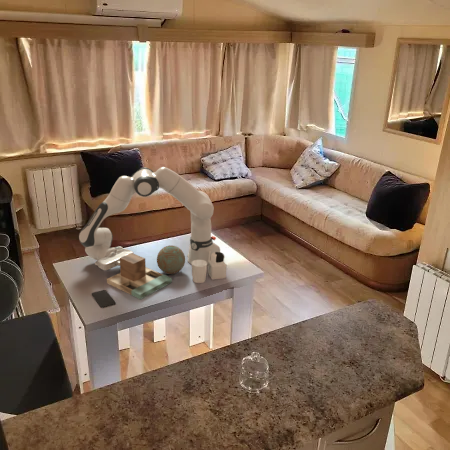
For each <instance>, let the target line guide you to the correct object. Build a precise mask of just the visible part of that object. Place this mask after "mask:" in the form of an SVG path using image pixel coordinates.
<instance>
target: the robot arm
mask: <svg viewBox="0 0 450 450" xmlns="http://www.w3.org/2000/svg"><path fill="white" fill-rule="evenodd" d="M159 189H162V190H163V191H165V192H166V193H167V194H169V195H170V196H172V197H173V198H174V199H176V200H177V201H178V202H180V204H182V205H183V206H184V207H185V208H186V209H187V210H188V211H190V213H189V214H190V238H189V245H188V246H189V248H188V254H187V255H186V257H187V262H188V264H190V265H192V262H193V261H194V260H204V261H206V262H207V267H208V261H210V260H211V254H212V253H214V252H221V247H220V246H219V245H218V244H216V243H215V242H214V241H216V239H217V237H216V236H213V235H212V221H211V219H212V217H213V215H214V208H215V207H214V203H212V200H211V198H210V196H209V194H207V193H206V192H204V191H202V190H198V189H197V188H196V187H195V186H194V185H193V184H192V183H190V182H189V181H188V180H186V179H185V178H184V177H182V176H181V175H180V174H178V173H177V172H176V171H174V170H172V169H170V168H168V167H165V166H161V167H159V168H158V169H156V171H153V170H152V169H151V168H149V167H141V168H139V169H137V171H135V172H133V173H132V174H131V176H129V175H128V176H127V175H121V176H119V177H118V178H117V180H116V181H115V183H114V185H113V186H112V188H111V190H110V192H109V194H108V195H107V197H106V198H105V199H104V200H103V201H102V202H101V203H99V205H98V206H97V207H96V208H95V210H94V212H93V213H92V215H91V216H90V218H89V220H88V221H87V223H86V224H85V225H84V227H82V229H81V230H80V232H79V233H78V240H79V243H80V244H81V245H82V246H83V247H84V251H85V253H86V255H87V256H88V257H90V258H91V259H93V260H95V262H94V265H95V266H97V267H98V268H100V269H101V270H102V271H109V270H111V269H113V268H115V267H118V266H119V267H120V258H121V257H123V256H125V255H128V254H130V253H133V254H135V253H134V251H133V250H130V249H128V248H123V246H115V247H111V246H112V242H113V237H114V236H113V233H112V231H111V229H110V228H108V227H101V224H102V222H103V221H104V220H105V219H106V218H108V217H110V216H112V215H115V214H119V213H122V212H124V211H125V210H126V209H127V207H128V206H129V204H130V202H131V200H132V198H133V195H135V194H137V195H138V196H140V197H144V198H146V197H150V196H151V195H152V194H154V193H155V192H156V191H158V190H159Z"/></svg>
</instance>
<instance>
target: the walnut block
mask: <svg viewBox="0 0 450 450" xmlns="http://www.w3.org/2000/svg"><path fill="white" fill-rule="evenodd" d="M133 253H134V252H133ZM133 253H130V254H128V255H125V256H123V257H121V258H120V266H119V267H120V269H119V271H120V272H119V273H121V276H123V277H125V278H127V279H129V280H132V281H134V282H135V281H137V280H139V279H141V278H143V277H145V276H146V267H147V266H146V258H145V257H143V256H140V255H138V254H136V253H134V254H133Z"/></svg>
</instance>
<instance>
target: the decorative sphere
mask: <svg viewBox="0 0 450 450" xmlns="http://www.w3.org/2000/svg"><path fill="white" fill-rule="evenodd" d="M185 263H186V256H185V253H184V251H183V250H182V249H181V248H180V247H178V246H177V245H167V246H164V247H162V248H161V249H160V250H159V252H158V253H157V256H156V264H157V267H158V268H159V270H160V271H161V272H163V273H165V274H169V275H174V274H176V273H178V272H181V270H182V269H183V268H184V266H185Z"/></svg>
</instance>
